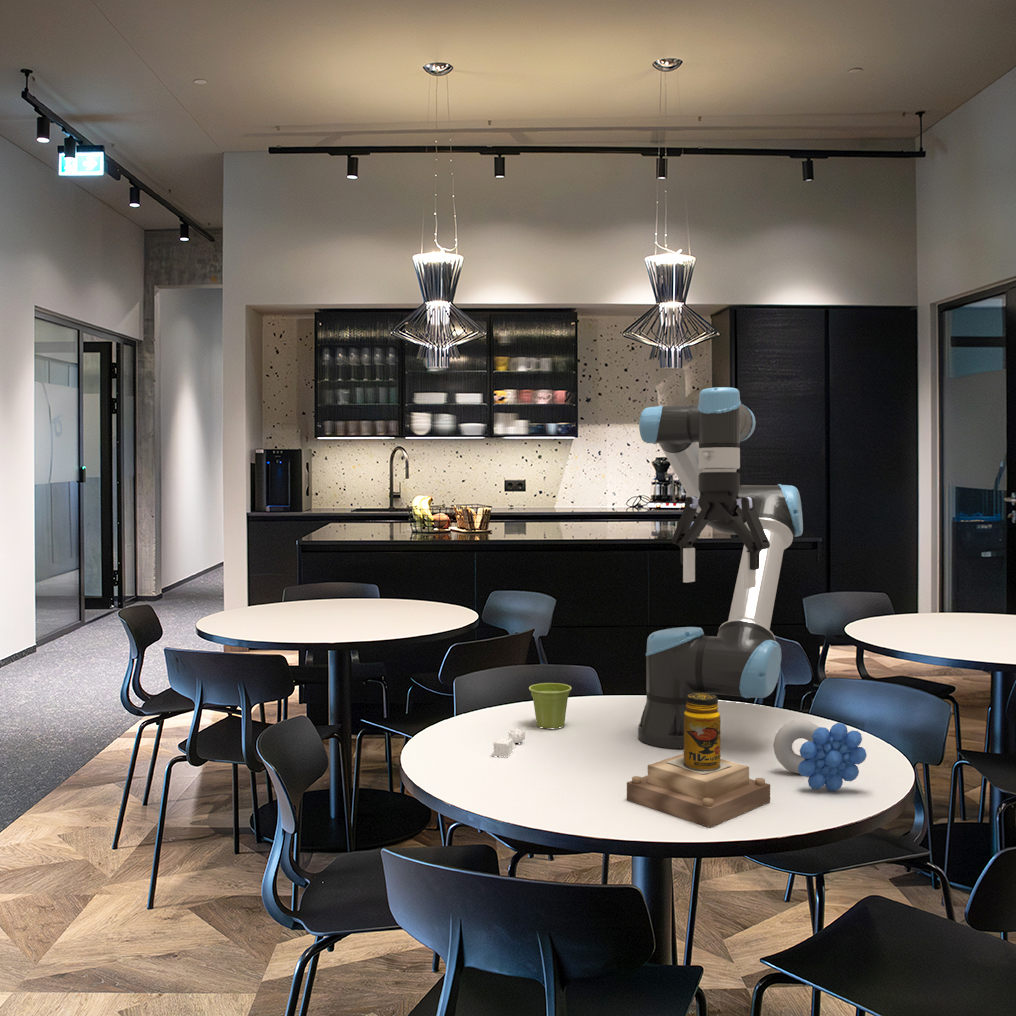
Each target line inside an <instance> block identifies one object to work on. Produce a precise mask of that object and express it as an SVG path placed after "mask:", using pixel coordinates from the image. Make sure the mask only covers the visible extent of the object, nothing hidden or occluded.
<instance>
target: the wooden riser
mask: <svg viewBox="0 0 1016 1016" xmlns="http://www.w3.org/2000/svg"><path fill="white" fill-rule="evenodd" d="M683 757H684V752H683V753H681V754H677V755H675V756H672V757H669V758H665V759H661V760H659V761H656V762H652V763H650V764H647V775H644V776H642V777H641V776H639V775H637V776H632V777H631V780H630V781H627V782H626V800H627V801H629V802H633V803H636V804H638V805H641V806H644V807H647V808H650V809H653V810H656V811H660V812H662V813H665V814H668V815H671V816H675V817H676V818H680V819H684V820H685V821H686V820H687V821H688V822H692V823H695V824H698V825H700V826H704V827H707V828H713V827H714V826H718V825H719V824H722V823H724V822H727V821H729V820H731V819H733V818H736V817H739V816H740V815H743V814H745V813H748V812H749V811H753V810H755V809H758V808H759V807H762V806H764V805H766V804H769V803H771V784H770V783H766V779H765V778H763V777H756V778H755V779H753V778H750V766H748V765H746V764H745V765H744V764H742V763H737V762H734V761H731V760H726V759H722V758H720V762H722V763H725V764H729V765H732V766H729V767H726V768H724V769H721V770H718V771H714V772H710V773H706V774H699V773H697V772H693V771H690V770H687V769H684V768H682V767H680V766H676V765H674V764H670V763H667V761H672V760H675V759H679V758H683Z"/></svg>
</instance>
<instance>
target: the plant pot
mask: <svg viewBox="0 0 1016 1016" xmlns="http://www.w3.org/2000/svg"><path fill="white" fill-rule="evenodd" d="M528 689H529V691H530V694H531V697H532V700H533V709H534V715H535V724H536V727H538V726H539V727H543V728H542V729H548V728H559V727H562V728H563V727H564V726H565V723H566V716H567V715H566V713H567V707H568V698H569V695H570V692H571V690H572V686H571V685H570V684H569V685H568V684H566V683H559V682H556V683H555V682H543V683H541V682H540V683H537V684H536V683H535V684H531V685H530V686H529V687H528ZM539 727H538V728H539ZM559 729H560V728H559Z"/></svg>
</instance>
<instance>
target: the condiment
mask: <svg viewBox="0 0 1016 1016" xmlns="http://www.w3.org/2000/svg"><path fill="white" fill-rule="evenodd" d="M686 700H687V702H686V710H685V712H684V749H683V753H684V757H683V758H679V759H675V760H672V761H667V763H670V764H674V765H676V766H680V767H682V768H684V769H687V770H690V771H693V772H697V773H699V774H706V773H710V772H714V771H718V770H721V769H724V768H726V767H729V766H732V765H729V764H725V763H722V762H720V759H722V758H721V757H722V756H721V749H722V748H721V742H722V741H721V735H722V734H721V732H722V731H721V714H720V712H719V710H718V709H719V704H718V703H719V699H718V696H717V695H716V694H711V693H692V694H689V695H687V697H686Z"/></svg>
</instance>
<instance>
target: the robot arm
mask: <svg viewBox="0 0 1016 1016" xmlns="http://www.w3.org/2000/svg"><path fill="white" fill-rule="evenodd" d="M698 394H699V395H698V403H697V404H683V405H682V404H681V405H657V406H650V407H648V406H647V407H646V408H644V409H643V410H641V412H640V413H641V414H640V416H639V420H638V421H639V422H638V425H639V427H638V428H639V430H638V431H639V434H640V438H641V440H642V441H643V443H646V444H653V445H656V444H658V445H659V446H660V448H661V449H662V451H663V454H664V455H665V457H666V459H667V460H668V462H669V464H670V466H671V467H672V469H673V471H674V473H675V475H676V477H677V479H678V480H679V483H680V484H681V486H682V487H683V489H684V491H685V492H686V493H685V499H684V508H683V511H682V513H681V515H680V518H679V521H678V522H677V526H676V528H675V530H674V533H673V535H672V538H671V540H670V541H671V543H672V544H673V545H677V546H678V547H679V551H680V552H679V553H680V554H679V555H680V560H679V561H680V565H682V566H683V567H682V583H693V582H696V548H695V547H694V545H693V544H694V543H695V541H696V540H697V539H698V537H699V536H700V535H701V533H702V531H703V530H704V529H705V528H706V526H709V527H710V528H711V529H714V530H715V531H718V532H720V533H723V534H728V535H737V536H738V538H739V539H740V540H741V542H742V544H743V549H742V553H741V558H740V563H739V568H738V573H737V577H736V582H735V587H734V591H733V595H732V596H733V597H732V600H731V605H730V611H729V615H728V620H727V621H725V622H723V623H721V625H720V627H718V630H717V631H718V632H717V635H716V636H714V635H713V636H711V635H710V636H709V635H705V632H704V630H703V628H702V627H700V626H699V627H697V626H685V627H684V626H682V627H672V628H671V627H670V628H666V629H660V630H657V631H654V632H652V633H651V634H649V636H647V641H646V652H645V659H646V663H645V664H646V666H645V667H646V702H645V705H644V708H643V711H642V715H641V718H640V722H639V724H638V728H637V737H638V740H639V739H640V741H641V742H642V743H645V744H646V743H647V745H649V744H650V746H653V747H657V748H666V749H676V750H677V749H683V750H684V712H685V710H686V702H687V700H686V697H687V695H689V694H692V693H708V694H713V695H721V696H730V697H731V696H732V697H739V698H745V699H750V698H752V699H754V698H756V699H764V698H767V697H768V696H770V695H772V694H773V692H774V690H775V688H776V686H777V684H778V681H779V676H780V672H781V664H782V663H781V662H782V648H781V644H779V642H778V641H776V637H775V635H774V633H773V631H772V630H770V629H771V623H772V617H773V613H774V612H773V611H774V607H775V600H776V595H777V590H778V584H779V579H780V574H781V568H782V563H783V557H784V556H783V555H784V551H785V550H786V549H787V548H789V547H791V545H792V543H793V539H794V538H797V537H800V536H802V534H803V531H804V523H803V521H804V519H803V510H802V509H803V507H802V501H801V495H800V491H799V490H798V488H797V487H796V486H794V485H790V484H789V485H788V484H781V483H778V484H777V485H769V484H768V485H766V484H765V485H763V484H762V485H760V484H759V485H758V484H757V485H751V484H749V485H747V484H741V483H740V482H741V481H740V479H741V475H740V473H739V472H737V471H738V470H739V469H740V468H741V448H740V445H741V444H740V443H741V442H743V441H744V442H745V441H746V440H748V439H749V438H750V437H751V436H752V434H753V433H754V431H755V428H756V424H757V423H756V417H755V415H754V413H753V411H752V410H751V409H749V407H747V406H746V405H744V404H742V401H741V398H740V397H741V395H740V394H741V393H740V390H739V388H735V387H727V386H726V387H724V386H723V387H707V388H704V389H702V390H700V392H699V393H698ZM694 518H695V520H694ZM693 520H694V522H693Z"/></svg>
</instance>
